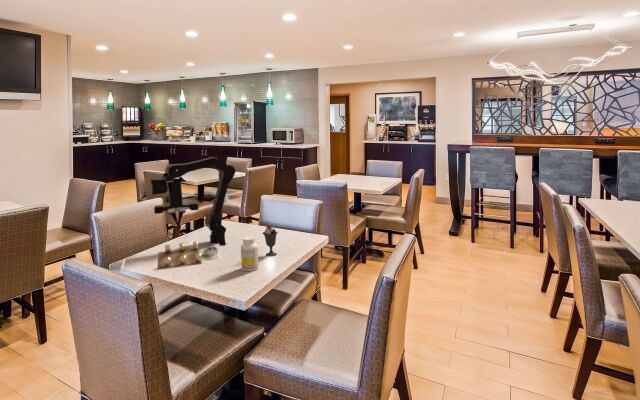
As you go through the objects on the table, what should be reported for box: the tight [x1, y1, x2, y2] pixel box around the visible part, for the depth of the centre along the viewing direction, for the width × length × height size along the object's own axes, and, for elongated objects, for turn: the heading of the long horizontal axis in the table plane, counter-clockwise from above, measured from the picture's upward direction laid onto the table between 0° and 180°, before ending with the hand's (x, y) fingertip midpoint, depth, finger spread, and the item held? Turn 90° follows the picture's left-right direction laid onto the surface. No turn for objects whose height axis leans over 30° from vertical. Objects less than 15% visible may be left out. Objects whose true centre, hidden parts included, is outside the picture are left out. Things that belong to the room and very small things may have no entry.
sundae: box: [262, 221, 279, 257], centre depth 177 cm, size 7×7×15 cm
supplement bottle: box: [240, 235, 260, 272], centre depth 160 cm, size 7×7×13 cm
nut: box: [204, 246, 219, 256], centre depth 176 cm, size 6×5×3 cm
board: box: [157, 247, 219, 271], centre depth 174 cm, size 24×24×1 cm
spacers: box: [164, 241, 203, 267], centre depth 173 cm, size 14×20×4 cm
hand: (178, 226), depth 183 cm, fingers closed
